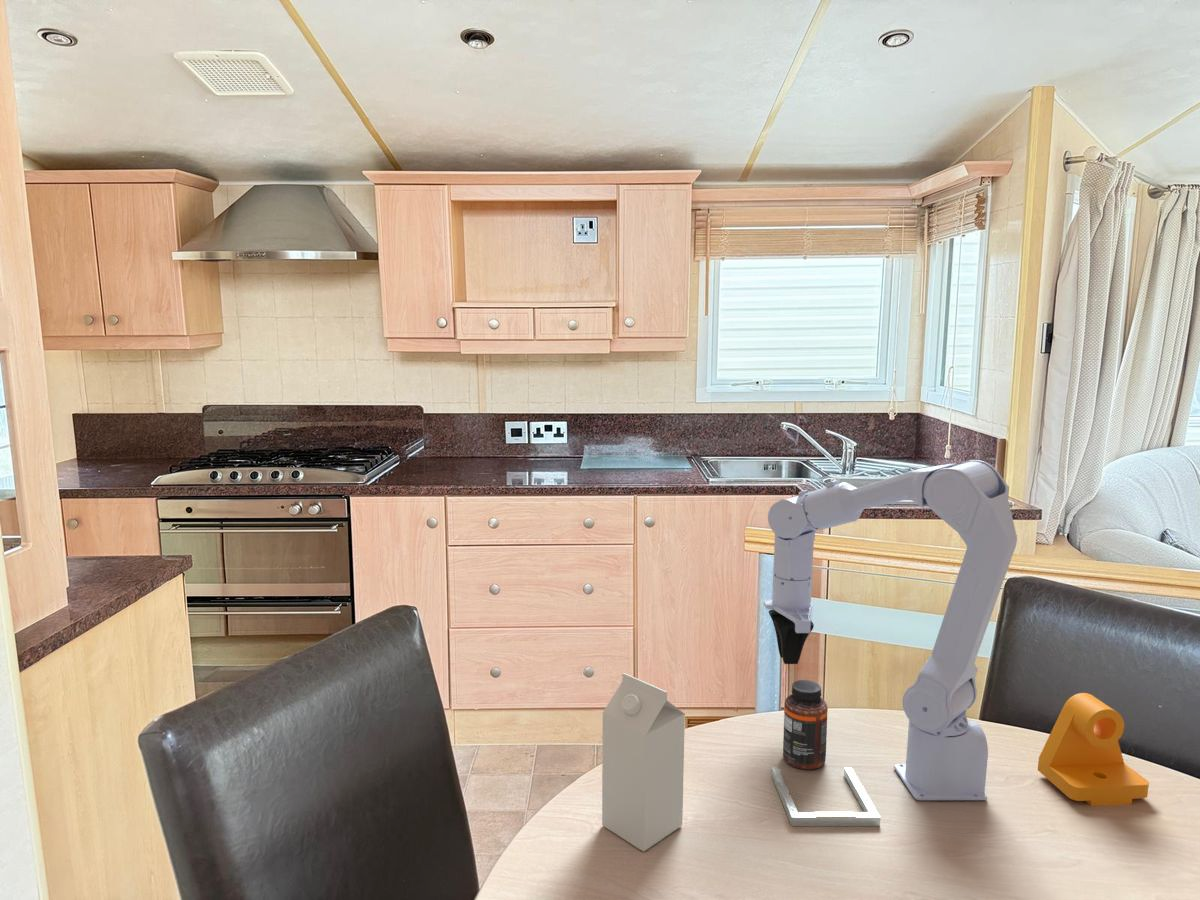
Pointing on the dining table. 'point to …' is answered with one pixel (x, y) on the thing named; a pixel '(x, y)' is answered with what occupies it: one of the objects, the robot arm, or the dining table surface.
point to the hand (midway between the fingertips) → (788, 660)
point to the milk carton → (642, 764)
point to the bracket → (1090, 755)
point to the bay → (829, 818)
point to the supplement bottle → (805, 726)
